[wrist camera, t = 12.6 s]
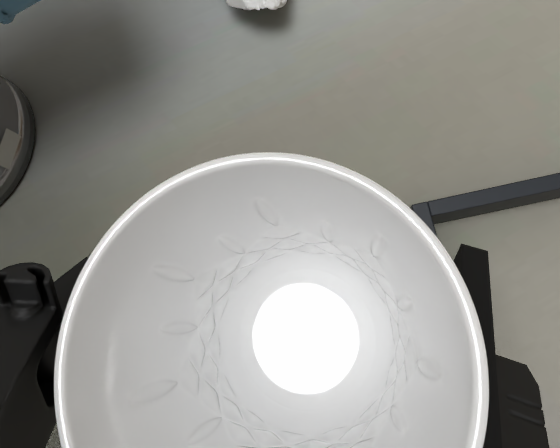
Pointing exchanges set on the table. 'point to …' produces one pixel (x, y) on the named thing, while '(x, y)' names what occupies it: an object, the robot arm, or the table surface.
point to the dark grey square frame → (488, 200)
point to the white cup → (270, 319)
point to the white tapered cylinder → (256, 4)
